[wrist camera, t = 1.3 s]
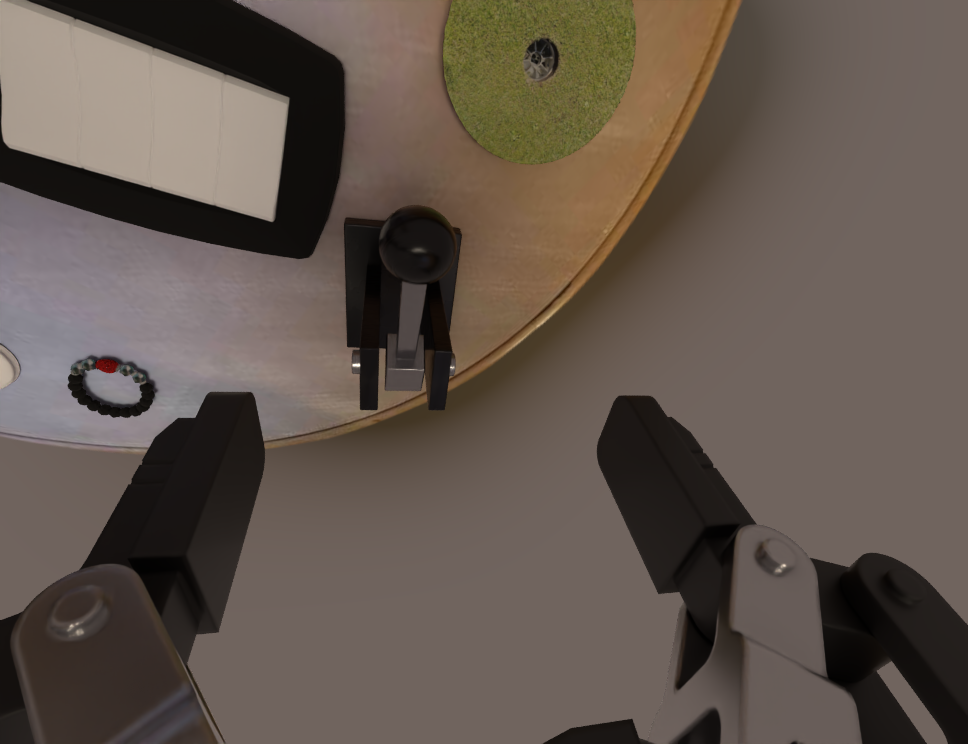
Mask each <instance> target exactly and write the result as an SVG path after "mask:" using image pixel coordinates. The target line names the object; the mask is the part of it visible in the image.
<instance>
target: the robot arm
mask: <svg viewBox="0 0 968 744" xmlns="http://www.w3.org/2000/svg"><path fill="white" fill-rule="evenodd" d="M597 458H598V463H599V466H600V468H601V471H602V473H603V475H604V477H605V479H606V482H607V484H608V486H609V488H610V490H611V492H612V495H613V497H614V499H615V501H616V503H617V505H618V508H619V510H620V512H621V514H622V516H623V518H624V521H625V523H626V525H627V527H628V529H629V531H630V534H631V536H632V538H633V540H634V542H635V544H636V546H637V549H638V551H639V553H640V555H641V557H642V559H643V561H644V564H645V566H646V568H647V570H648V572H649V574H650V577H651V579H652V581H653V583H654V585H655V587H656V590H657V592H658V594H662V593H673V592H680V594H681V596H682V598H683V600H684V603H683V604H682V605H681V607H680V610H679V613H678V619H677V625H676V631H675V637H674V643H673V648H672V654H671V660H670V666H669V671H668V677H667V683H666V689H665V694H664V697H663V701H662V703H661V706H660V708H659V710H658V712H657V714H656V716H655V719H654V721H653V724H652V727H651V730H650V733H649V737H648V741H646V740H643V739H640V738H639V737H638V734H637V731H636V728H635V726H634V723H633V720H632V719H628V720H622V721H615V722H609V723H602V724H596V725H589V726H583V727H576V728H571V729H569V730H567V731H565V732H564V733H561V734H560V735H558V736H556V737H554V738H552V739H550V740H548V741H547V742H545V743H543V744H927V743H926V742H925V740H924V739H923V738H922V736H921V735H920V733H919V732H918V730H917V729H916V728H915V726H914V725H913V723H912V722H911V720H910V719H909V717H908V716H907V715H906V713H905V712H904V710H903V709H902V707H901V706H900V705H899V703H898V702H897V700H896V699H895V697H894V696H893V694H892V693H891V692H890V690H889V689H888V687H887V686H886V684H885V683H884V681H883V680H882V679H881V677H880V676H879V674H878V673H877V670H879V669H880V668H881V667H883V666H885V665H886V664H888V663H889V662H891V661H892V662H893V663H894V664H895V666H896V667H897V668H898V670H899V671H900V673H901V674H902V675H903V677H904V678H905V680H906V681H907V682H908V684H909V685H910V686H911V688H912V689H913V690H914V692H915V693H916V695H917V696H918V697H919V698H920V700H921V701H922V703H923V704H924V705H925V707H926V708H927V710H928V711H929V712H930V714H931V715H932V716H933V718H934V719H935V720H936V722H937V723H938V725H939V726H940V728H941V729H942V731H943V733H944V735H945V736H946V739H947V742H948V744H968V625H967V624H966V623H965V622H964V621H963V620H962V618H961V617H960V616H959V615H958V614H957V613H956V612H955V611H954V610H953V609H952V607H951V606H950V605H949V604H948V603H947V602H946V601H945V599H944V598H943V597H942V596H941V595H940V594H939V593H938V592H937V591H936V589H935V588H934V587H933V586H932V585H931V584H930V583H929V582H928V581H927V580H926V579H924V578H923V577H922V576H921V575H920V574H918V573H917V572H916V571H915V570H913V569H912V568H910V567H909V566H907V565H906V564H904V563H902V562H900V561H898V560H896V559H894V558H892V557H889V556H886V555H883V554H878V553H867V554H864V555H862V556H861V557H860V558H859V559H858V560H857V561H855V563H853V564H852V565H851V566H850V567H845V566H841V565H837V564H833V563H829V562H825V561H821V560H817V559H813V558H809V557H808V555H807V554H806V553H805V552H804V550H803V549H802V548H801V547H800V546H799V545H798V544H796V543H795V542H794V541H793V540H791V539H790V538H789V537H787V536H786V535H784V534H782V533H781V532H779V531H777V530H775V529H772V528H770V527H766V526H763V525H757V524H756V523H755V521H754V520H753V519H752V517H751V516H750V514H749V513H748V512H747V510H746V509H745V508H744V506H743V505H742V503H741V502H740V500H739V499H738V498H737V496H736V495H735V494H734V492H733V491H732V489H731V488H730V487H729V485H728V484H727V483H726V481H725V480H724V478H723V477H722V476H721V474H720V473H719V471H718V470H717V469H716V468H713V463H712V462H711V460H710V459H709V457H708V456H707V455H706V454H705V453H703V449H702V448H701V446H700V445H699V444H698V442H697V441H696V439H695V438H694V437H693V435H692V434H691V432H689V431H688V430H687V429H686V428H685V427H683V426H682V425H681V424H680V423H678V422H677V421H676V420H675V419H673V418H672V417H667V416H666V414H665V413H664V411H663V410H662V408H661V407H660V405H659V404H658V403H657V401H656V400H655V399H654V398H653V397H651V396H618V397H617V398H616V400H615V401H614V403H613V405H612V408H611V411H610V413H609V415H608V418H607V420H606V423H605V426H604V428H603V430H602V433H601V436H600V438H599V441H598V445H597ZM142 461H143V462H142V465H139V467H138V469H137V471H136V472H135V474H134V476H133V478H132V483H131V484H130V485H128V487H127V488H126V490H125V492H124V494H123V495H122V497H121V499H120V501H119V503H118V504H117V506H116V508H115V510H114V511H113V513H112V515H111V517H110V519H109V520H108V522H107V524H106V526H105V527H104V529H103V531H102V533H101V535H100V537H99V538H98V540H97V542H96V544H95V545H94V547H93V549H92V551H91V553H90V554H89V556H88V558H87V560H86V561H85V563H84V564H83V566H82V567H81V568H80V570H78V571H76V572H74V573H71V574H69V575H67V576H65V577H63V578H61V579H60V580H58V581H56V582H55V583H53V584H52V585H50V586H49V587H47V588H46V589H45V590H44V591H42V592H41V593H40V594H39V595H38V596H36V597H35V598H34V599H33V601H31V603H30V604H29V605H28V606H27V607H26V609H25V610H24V611H23V612H21V613H19V614H16V615H14V616H11V617H8V618H6V619H3V620H0V744H227V743H226V741H225V739H224V737H223V735H222V733H221V731H220V728H219V726H218V724H217V722H216V720H215V718H214V716H213V714H212V712H211V710H210V708H209V706H208V704H207V702H206V700H205V698H204V696H203V694H202V692H201V690H200V688H199V685H198V683H197V681H196V679H195V677H194V675H193V673H192V671H191V669H190V667H189V665H188V663H187V662H188V659H189V656H190V653H191V650H192V646H193V643H194V640H195V637H196V634H206V633H216V632H219V628H220V625H221V621H222V618H223V614H224V611H225V607H226V603H227V600H228V596H229V593H230V589H231V586H232V582H233V579H234V575H235V571H236V568H237V564H238V561H239V557H240V553H241V550H242V547H243V543H244V539H245V536H246V532H247V529H248V525H249V522H250V518H251V514H252V511H253V507H254V504H255V500H256V496H257V493H258V490H259V486H260V482H261V479H262V475H263V470H264V463H265V448H264V442H263V437H262V431H261V426H260V421H259V416H258V411H257V406H256V401H255V397H254V395H253V393H251V392H210V393H208V394H207V395H206V397H205V399H204V401H203V403H202V405H201V407H200V409H199V411H198V413H197V415H196V418H178V419H176V420H175V421H174V422H173V423H172V424H170V425H169V426H168V427H167V428H166V429H164V430H163V431H162V432H161V433H160V434H159V435H157V436H156V437H155V438H154V440H153V442H152V444H151V446H150V447H149V449H148V451H147V453H146V454H145V456H144V458H143V460H142Z"/></svg>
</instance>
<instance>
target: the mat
mask: <svg viewBox="0 0 968 744" xmlns="http://www.w3.org/2000/svg"><path fill="white" fill-rule="evenodd" d="M444 35H445V37H444V41H443V64H444V78H445V80H446V86H447V90H448V93H449V96H450V99H451V102H452V103H453V107H454V109H455V111H456V113H457V115H458V117H459V118H460V120H461V122H462V123H463V126H464V127H465V128H466V130H467V131H468V133H469V134H470V135H471V136H472V137H473V138H474V139H475V140H476V141H477V142H478V143H479V144H480V145H481V146H483V147H484V148H485V149H486V150H488V151H489V152H491V153H492V154H494V155H496V156H498V157H500V158H502V159H505V160H508V161H511V162H515V163H520V164H543V163H548V162H553V161H555V160H559V159H562V158H564V157H565V156H568V155H570V154H572V153H574V152H575V151H577V150H579V149H580V147H583V146H584V145H586V144H587V143H588V142H589V141H590V140H592V139H593V138H594V137H595V135H596V134H598V133H599V131H601V130H602V128H603V127H604V125H605V124H606V122H608V120H609V119H610V118H611V116H612V115H613V113H614V111H615V109H616V108H617V105H618V104H619V103H620V99H621V98H622V96H623V94H624V92H625V89H626V87H627V83H628V81H629V79H630V75H631V71H632V67H633V60H634V55H635V47H634V46H635V45H636V44H635V42H636V40H635V37H636V26H635V15H634V11H633V3H632V0H453V2H452V4H451V8H450V12H449V18H448V20H447V23H446V27H445V32H444Z"/></svg>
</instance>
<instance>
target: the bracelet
mask: <svg viewBox="0 0 968 744" xmlns="http://www.w3.org/2000/svg"><path fill="white" fill-rule="evenodd" d="M106 363H107V364H106ZM106 367H107V368H106ZM120 367H121V365H120V364H118V363H117V362H116V361H114V360H110V359H108V360H107V359H102V360H101V359H100V360H98V361H97V360H96V362H95V361H94V360H92V359H90V358H89V359H87V360H84V361H82V363H80V364H79V363H76V364H73V365H72V366H71V374H70V375H69V377H68V380H69V384H68V388H69V389H70V390H71V391H72V393H71V394H72V396H73V397H75V398H78V403H79V404H80V405H87V408H88V409H89V410H91V411H97V410H98V413H100V414H101V415H108V414H109V415H110V416H112V417H113V418H114V417H120V416H122V417H125V418H128V417H131V415H133V416H138V415H141V413H142V412H145V411H147V410H148V409H149V408H150V405H151V404H152V403H153V400H152V399H153V398H154V396H155V394H154V391H153V390H152V389H153V386H152V384H150V383H148V382H147V381H146V380H145V379H146V376H145V374H144V373H140V372H137V371H134V370H133V367H132V366H131V365H123V366H122V367H121V368H120ZM95 368H97V370H98V369H99V370H101V371H103V372H106V373H114V372H116V371H118V370H119V369H120V373H122V374H123V375H124V376H128V375H131V376H133V380H134V382H135V383H140V384H141V385H140V391H141V392H142V394H141V395H142V398H141V399H140V402H139V403H138V404H137V406H133V407H131V408H129V407H124V408H122V409H121V408H119V407H113V408H112V407H111V406H110V405H107V404H104V405H101V404H100V401H97V400H92V398H91V396H89V395H86V390H85V389H83V388H82V387H83V385H82V380H83V376H82V375H81V374H83V372H84V371H85V370H87V371H90V370H94V369H95Z"/></svg>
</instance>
